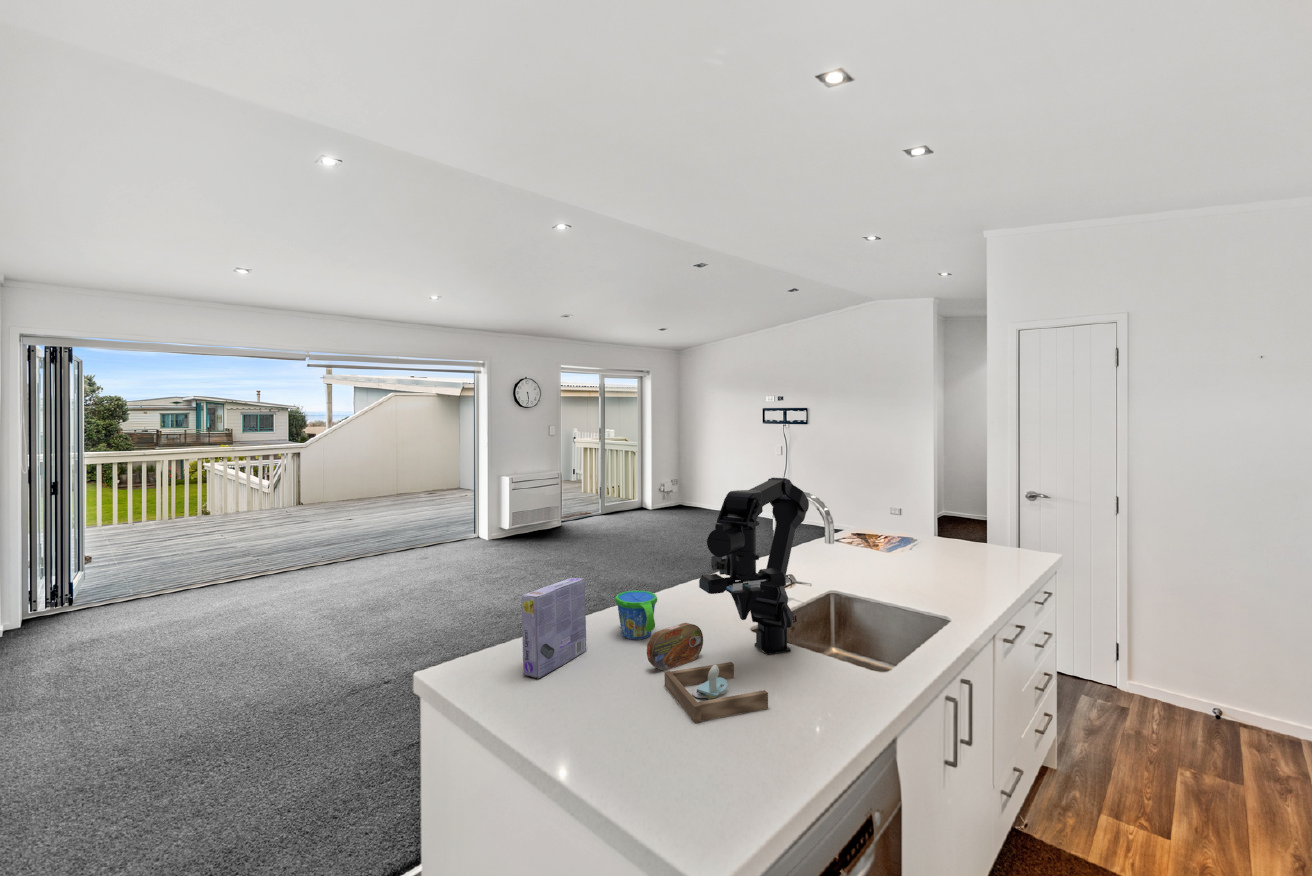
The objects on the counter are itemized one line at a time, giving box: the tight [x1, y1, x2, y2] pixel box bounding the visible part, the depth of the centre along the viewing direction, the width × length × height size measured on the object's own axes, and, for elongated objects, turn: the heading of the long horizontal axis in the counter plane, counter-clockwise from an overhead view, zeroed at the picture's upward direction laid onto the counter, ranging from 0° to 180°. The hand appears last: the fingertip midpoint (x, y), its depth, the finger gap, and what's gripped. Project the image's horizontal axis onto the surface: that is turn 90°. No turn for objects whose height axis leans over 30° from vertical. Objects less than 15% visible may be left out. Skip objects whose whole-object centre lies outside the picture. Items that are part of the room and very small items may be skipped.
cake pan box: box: [521, 577, 587, 679], centre depth 133 cm, size 19×5×18 cm, turn 152°
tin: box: [646, 622, 704, 671], centre depth 132 cm, size 15×3×8 cm, turn 128°
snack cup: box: [614, 590, 658, 640], centre depth 150 cm, size 16×10×10 cm
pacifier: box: [692, 664, 728, 700], centre depth 117 cm, size 7×6×6 cm
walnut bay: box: [663, 661, 769, 724], centre depth 115 cm, size 15×16×3 cm
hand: (743, 619), depth 128 cm, fingers closed
